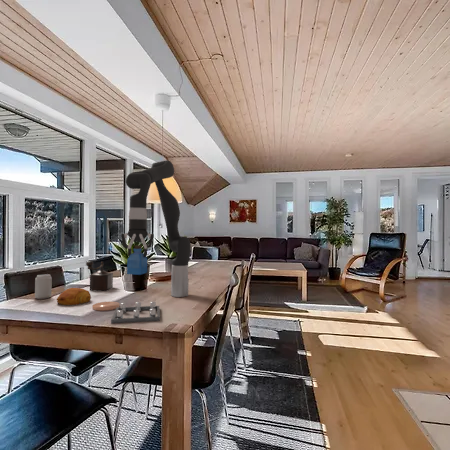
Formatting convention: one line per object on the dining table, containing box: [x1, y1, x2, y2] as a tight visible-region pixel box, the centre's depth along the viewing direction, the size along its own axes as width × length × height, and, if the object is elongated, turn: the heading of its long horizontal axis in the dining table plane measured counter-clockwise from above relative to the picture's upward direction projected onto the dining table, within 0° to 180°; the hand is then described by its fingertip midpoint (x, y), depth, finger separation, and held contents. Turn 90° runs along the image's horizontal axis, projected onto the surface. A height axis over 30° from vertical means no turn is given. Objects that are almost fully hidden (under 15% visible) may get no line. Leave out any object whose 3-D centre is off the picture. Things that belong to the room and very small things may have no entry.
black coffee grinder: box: [85, 260, 114, 292], centre depth 180 cm, size 16×11×18 cm
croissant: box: [56, 287, 92, 306], centre depth 151 cm, size 14×16×8 cm
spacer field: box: [110, 301, 161, 324], centre depth 130 cm, size 19×18×4 cm
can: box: [34, 273, 53, 300], centre depth 159 cm, size 8×8×12 cm
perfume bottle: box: [126, 245, 148, 276], centre depth 131 cm, size 6×6×12 cm
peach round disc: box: [92, 301, 120, 312], centre depth 143 cm, size 12×12×1 cm
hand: (137, 257), depth 131 cm, fingers closed on perfume bottle, 5 cm apart
